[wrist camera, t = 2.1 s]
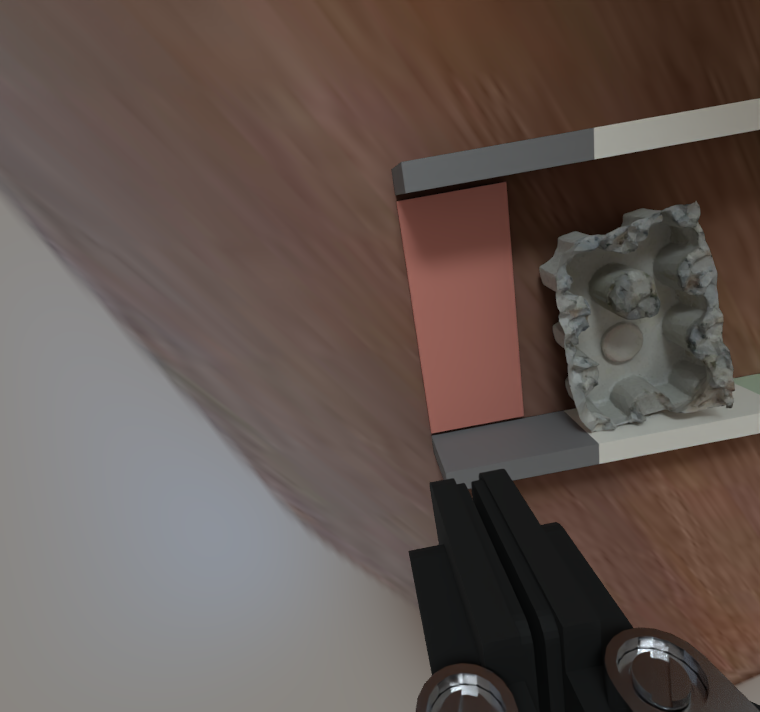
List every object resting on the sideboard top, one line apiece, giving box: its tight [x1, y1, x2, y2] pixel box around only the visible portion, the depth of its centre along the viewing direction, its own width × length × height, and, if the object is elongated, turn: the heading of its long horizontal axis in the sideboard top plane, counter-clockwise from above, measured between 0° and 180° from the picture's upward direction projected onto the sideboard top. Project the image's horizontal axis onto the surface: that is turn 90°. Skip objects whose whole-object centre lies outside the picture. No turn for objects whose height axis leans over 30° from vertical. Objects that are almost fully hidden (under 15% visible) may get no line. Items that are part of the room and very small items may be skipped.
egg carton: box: [539, 201, 735, 432], centre depth 23 cm, size 11×8×4 cm
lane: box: [391, 98, 760, 489], centre depth 23 cm, size 16×29×4 cm, turn 100°
